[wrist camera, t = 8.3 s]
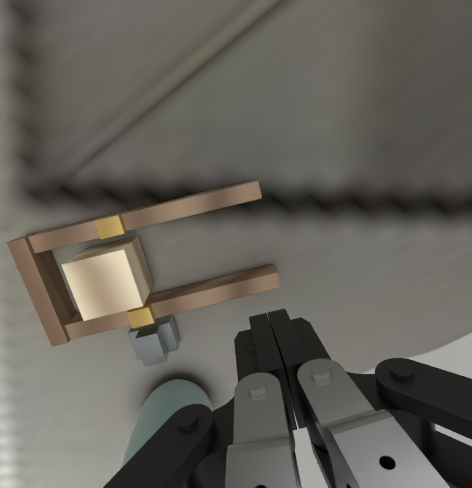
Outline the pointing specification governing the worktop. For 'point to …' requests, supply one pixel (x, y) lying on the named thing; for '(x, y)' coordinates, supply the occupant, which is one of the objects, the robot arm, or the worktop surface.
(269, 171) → the worktop surface
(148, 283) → the block
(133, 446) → the cup
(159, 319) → the block
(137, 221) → the beam rails
